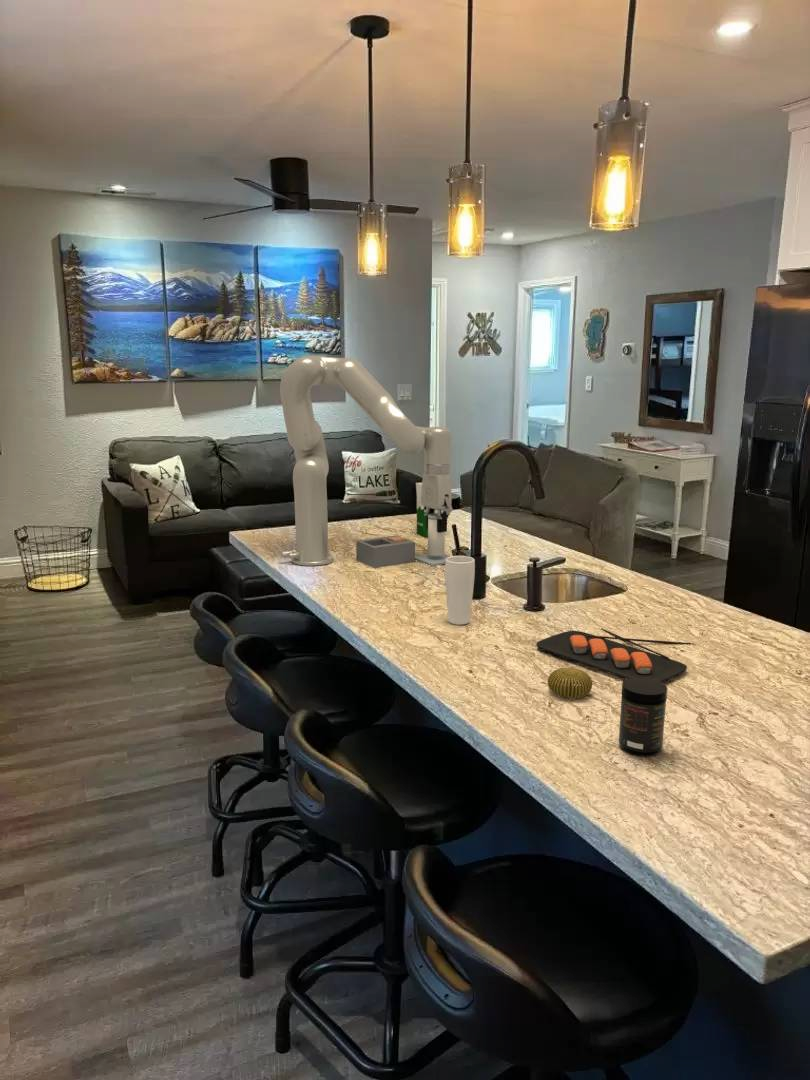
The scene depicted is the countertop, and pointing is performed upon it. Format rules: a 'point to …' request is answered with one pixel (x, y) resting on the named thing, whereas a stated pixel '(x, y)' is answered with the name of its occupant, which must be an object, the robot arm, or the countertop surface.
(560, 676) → the sculpture
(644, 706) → the supplement container
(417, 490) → the milk carton
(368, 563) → the box
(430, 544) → the cartridge
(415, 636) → the countertop surface
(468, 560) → the drinking glass
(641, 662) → the sushi plate
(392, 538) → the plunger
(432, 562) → the mat
